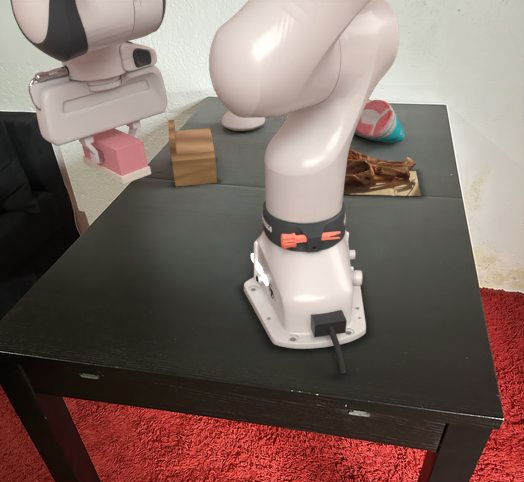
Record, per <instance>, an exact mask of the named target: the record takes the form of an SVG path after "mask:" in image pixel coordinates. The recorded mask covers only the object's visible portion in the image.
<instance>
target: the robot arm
mask: <svg viewBox="0 0 524 482" xmlns="http://www.w3.org/2000/svg"><path fill="white" fill-rule="evenodd" d="M9 1H10V7H11V10H12V15H13V17H14V20H15V22H16V25H17V27H18V29H19V30H20V32H21V34H22V36H23V37H24V38H25V39H26V40H27V41H28V42H29V43H30V44H31V45H32V46H33V47H34V48H36V49H37V50H39V51H41V52H42V53H43V54H45V55H47V56H48V57H51V58H52V59H55V60H56V61H58V62H61V65H62V66H60V67H57V68H53V69H51V70H46V71H40V72H36V73H35V74H34V77H32V78H31V80H30V81H29V84H28V86H27V89H28V93H29V96H30V100H31V102H32V104H33V106H34V108H35V114H36V118H37V123H38V127H39V131H40V134H41V136H42V138H43V139H44V140H45V141H47V142H48V143H50V144H52V145H53V146H56V147H59V146H63V145H66V144H69V143H72V142H76V141H78V142H79V143H80V144H81V146H82V145H83V146H84V147H85V148H86V149H87V150H88V151H89V153H90V156H91V160H92V162H93V163H95V164H96V165H97V164H100V163H102V162H105V158H104V154H103V151H101V150H99V149H97V148H96V149H95V148H94V147H93V146H92V144H91V143H93V142H94V140H93V135H95V134H98V133H101V132H104V131H107V130H111V129H114V128H115V129H118V128H120V127H122V126H123V127H124V126H126V127H128V132H127V134H128V135H131V136H133V137H135V138H138V139H139V135H140V132H141V130H142V129H141V128H142V124H141V121H142V120H145V119H148V118H152V117H155V116H157V115H160V114H164V113H165V112H166V109H167V107H168V97H167V91H166V85H165V82H164V77H163V74H162V72H161V70H160V68H159V67H158V66H157V65H156V64H157V62H158V55H157V51H156V49H154V48H152V47H149V46H147V45H144V44H139V43H135V42H133V41H134V40H137V39H141V38H144V37H147V36H150V35H151V34H153V33H155V32H157V31H158V30H159V29H160V27H161V25H162V24H163V22H164V18H165V14H166V8H167V0H9ZM399 46H400V27H399V22H398V19H397V16H396V13H395V12H394V10H393V8H392V7H391V5H390V4H389V2H388V1H386V0H247V1H246V2H245V4H244V5H242V7H241V8H240V9H239V10H238V11H237V12H235V14H234V15H232V16H231V17H230V18H229V19H228V20H227V21H225V22H224V23H223V24H222V25H220V26H219V27H218V28H217V30H216V31H215V34H214V35H213V38H212V41H211V44H210V48H209V53H208V71H209V77H210V81H211V84H212V87H213V90H214V92H215V94H216V96H217V97H218V99H219V101H220V102H221V103H222V105H223V106H224V108H226V109H227V111H228V110H229V111H230V112H232V113H233V114H234V115H236V116H238V117H242V118H254V117H265V118H274V117H275V118H276V117H280V116H282V115H283V116H284V115H286V114H287V116H286V118H285V120H284V122H283V124H282V125H281V127H280V128H279V129H278V131H277V132H276V133H275V134H274V136H272V138H271V140H270V141H269V143H268V145H267V146H266V149H265V152H264V161H263V162H264V165H263V166H264V195H265V197H264V199H265V200H264V201H263V203H262V212H261V220H262V229H263V230H262V233H260V234H259V236H258V237H257V238H256V239H255V241H254V242H253V252H252V253H250V259H251V261H252V263H253V277H251V278H250V279H247V280H246V281H245V282H244V283H243V292H244V294H245V296H246V298H247V299H248V302H249V303H250V305H251V307H252V309H253V311H254V313H255V314H256V316H257V318H258V319H259V322H260V323H261V325H262V327H263V329H264V330H265V333H266V335H267V336H268V338H269V340H270V342H271V343H272V344H273V345H275V346H278V347H282V348H287V349H294V350H295V349H296V350H298V349H299V350H307V349H309V350H310V349H320V348H328V347H333V349H334V352H335V356H336V359H337V364H338V368H339V374H341V375H342V374H346V373H347V369H346V363H345V358H344V357H345V356H344V354H343V350H342V347H341V345H344V344H348V343H350V342H354V341H356V340H358V339H360V338H361V337H363V336H364V335H365V334H366V333H367V322H366V317H365V310H364V309H365V308H364V302H363V295H362V289H361V286H362V285H363V271H362V269H355V268H354V266H352V265H351V260H355V259H356V250H355V249H350V246H349V238H350V232H349V231H348V230H346V223H347V215H346V214H347V213H346V206H345V205H346V204H345V202H344V194H343V192H344V182H345V174H346V165H347V158H348V153H349V149H351V145H352V142H353V139H354V136H355V134H354V133H355V130H356V127H357V125H358V122H359V120H360V117H361V115H362V112H363V110H364V108H365V106H366V104H367V101H368V99H370V98H371V95H372V93H373V92H374V90H375V88H376V87H377V85H378V84H379V83H380V81H381V80H382V79H383V78H384V77H385V75H386V74H387V73H388V71H390V70H391V68H392V66H393V65H394V62H395V60H396V59H397V55H398V51H399Z"/></svg>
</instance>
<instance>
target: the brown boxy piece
mask: <svg viewBox="0 0 524 482" xmlns="http://www.w3.org/2000/svg"><path fill="white" fill-rule="evenodd" d="M167 122H168V125H167V126H168V145H169V146H168V147H169V152H170V160H171V165H172V171H173V179H174V186H175V187H184V186H185V187H186V186H196V185H197V186H198V185H206V184H217V183H218V175H217V164H216V163H217V162H216V152H215V147H214V146H215V145H214V141H213V136H212V131H211V128H210V127H208V128H207V127H206V128H195V129H193V128H192V129H182V130H176V126H175V120H174V119H168V120H167Z"/></svg>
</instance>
